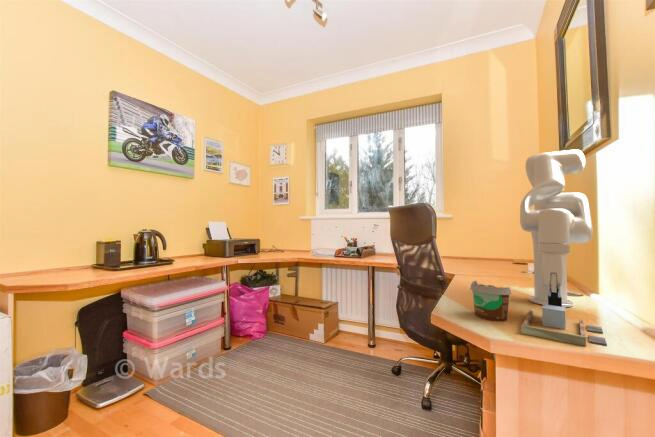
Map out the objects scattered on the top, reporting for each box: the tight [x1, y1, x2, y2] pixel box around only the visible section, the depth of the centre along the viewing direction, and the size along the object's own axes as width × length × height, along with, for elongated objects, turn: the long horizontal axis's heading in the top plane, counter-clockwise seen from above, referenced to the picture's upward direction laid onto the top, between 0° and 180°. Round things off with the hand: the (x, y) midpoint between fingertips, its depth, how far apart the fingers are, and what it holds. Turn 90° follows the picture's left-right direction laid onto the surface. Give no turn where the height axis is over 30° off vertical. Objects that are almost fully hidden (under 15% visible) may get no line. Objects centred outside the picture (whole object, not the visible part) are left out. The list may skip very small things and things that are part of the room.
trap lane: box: [520, 310, 608, 347], centre depth 78 cm, size 20×16×2 cm
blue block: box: [541, 304, 567, 330], centre depth 82 cm, size 5×5×5 cm
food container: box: [469, 280, 512, 322], centre depth 89 cm, size 12×6×10 cm, turn 23°
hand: (555, 309), depth 87 cm, fingers closed
